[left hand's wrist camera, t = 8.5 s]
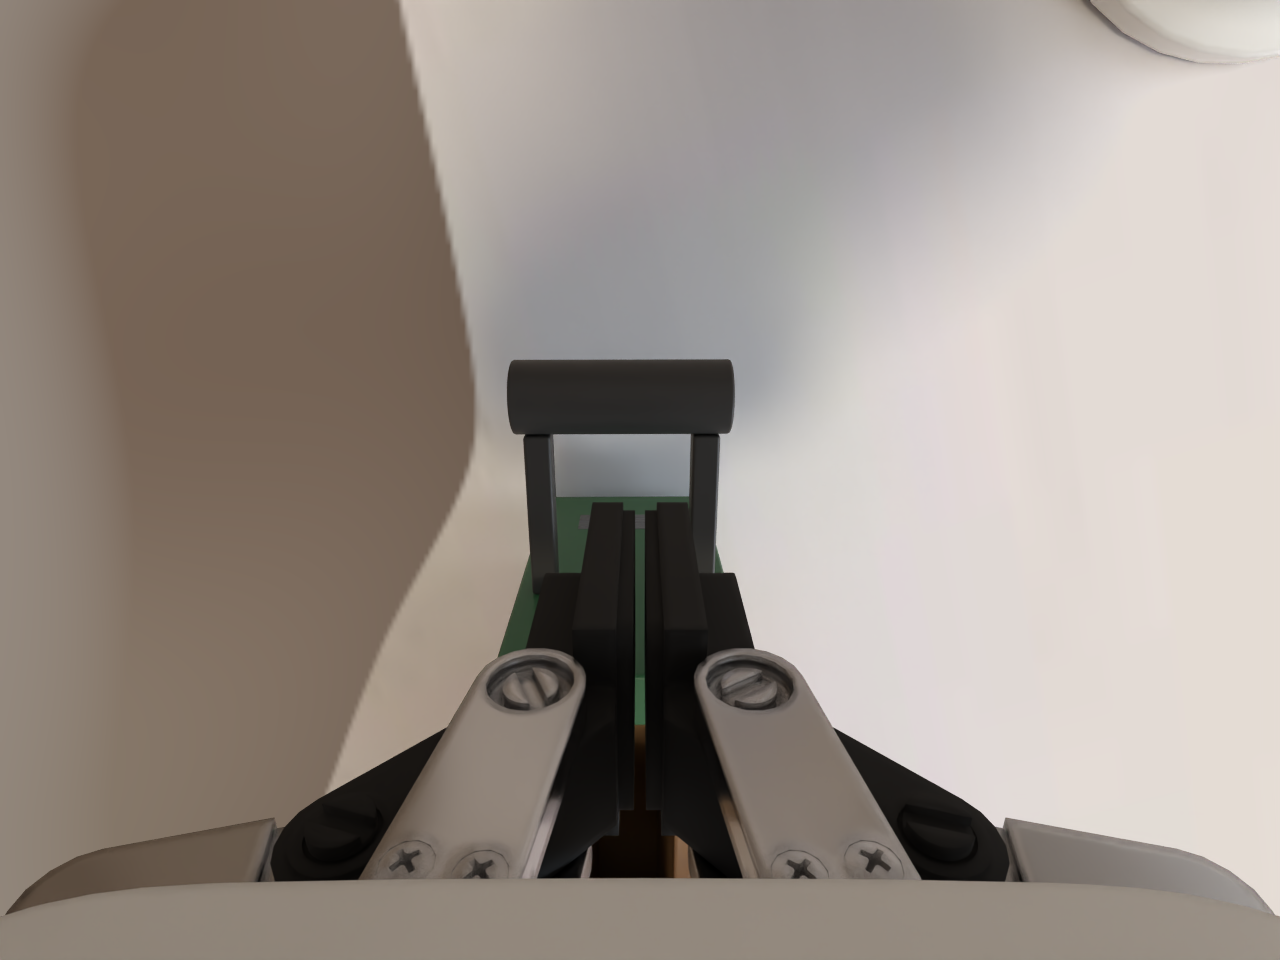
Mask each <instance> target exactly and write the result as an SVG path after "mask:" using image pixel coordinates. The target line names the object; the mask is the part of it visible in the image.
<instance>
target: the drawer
mask: <svg viewBox="0 0 1280 960" xmlns="http://www.w3.org/2000/svg"><path fill="white" fill-rule="evenodd" d="M734 403H735V385H734V372H733V366H732V363H731V361H730V360H728V359H723V360H513V361H512V362H511V364H510V367H509V371H508V379H507V406H508V416H509V422H510V426H511V429H512V431H513V433H514V434H525V436H524V439H523V442H524V459H525V475H526V492H527V509H528V525H529V542H530V556H529V559H528V562H527V565H526V568H525V572H524V575H523V578H522V581H521V584H520V588H519V591H518V594H517V597H516V600H515V604H514V607H513V610H512V613H511V616H510V620H509V623H508V626H507V629H506V632H505V636H504V639H503V642H502V645H501V648H500V652H499V655H498V657H501V656H503V655H506V654H508V653H511V652H513V651H518V650H524V649H526V645H527V641H528V637H529V633H530V629H531V626H532V622H533V618H534V614H535V610H536V606H537V602H538V599H539V595H540V591H541V587H542V583H543V579H544V576H545V574H546V573H581V570H582V564H583V558H584V552H585V545H586V539H587V533H588V527H589V521H590V515H591V508H592V503H593V502H623V510H635V638H636V649H635V755H634V810H619V836H603V837H601V838H600V839H599V840H598V841H596V842H595V843H594V844H593V845H592V868H591V873H590V877H589V878H691V877H690V873H689V868H688V845H687V844H686V843H685V842H684V841H682V840H681V839H680V838H679V837H677V836H661V810H646V755H645V649H644V638H645V510H657V502H687V503H688V508H689V515H690V521H691V527H692V533H693V539H694V545H695V552H696V558H697V564H698V570H699V573H724V572H723V569H722V565H721V561H720V558H719V554H718V550H717V547H716V526H717V502H718V477H719V453H720V437H719V434H727V433H729V432H730V430H731V428H732V423H733V417H734ZM553 434H691V451H690V490H689V497H556V488H555V466H554V444H553Z"/></svg>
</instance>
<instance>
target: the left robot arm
mask: <svg viewBox="0 0 1280 960" xmlns="http://www.w3.org/2000/svg"><path fill="white" fill-rule="evenodd" d="M1090 2H1091V3H1092V4H1093V5H1094V6H1095V7H1096V8H1097V9H1098V10H1099V11H1100V12H1101V13H1102V14H1103V15H1105V16H1106V17H1107V18H1108V19H1109V20H1110V21H1111V22H1112V23H1113V24H1114V25H1115V26H1116V27H1117V28H1118V29H1119V30H1121V31H1122V32H1123V33H1124V34H1126V35H1128V36H1130V37H1132V38H1133V39H1135V40H1137V41H1139V42H1141V43H1142V44H1144V45H1146V46H1148V47H1150V48H1152V49H1153V50H1155V51H1157V52H1159V53H1162V54H1166V55H1170V56H1174V57H1178V58H1182V59H1186V60H1189V61H1193V62H1197V63H1227V64H1244V63H1249V62H1254V61H1259V60H1264V59H1269V58H1274V57H1279V56H1280V0H1090ZM635 649H636V638H635V510H623V502H593V503H592V508H591V515H590V521H589V527H588V533H587V539H586V545H585V552H584V558H583V564H582V570H581V573H546V574H545V576H544V579H543V583H542V587H541V591H540V595H539V599H538V602H537V606H536V610H535V614H534V618H533V622H532V626H531V629H530V633H529V637H528V641H527V645H526V649H524V650H518V651H513V652H511V653H508V654H506V655H503V656H501V657H498V658H497V659H495V660H494V661H492V662H491V663H489V664H488V665H486V666H485V667H484V669H483V670H482V671H481V672H480V673H479V675H478V676H477V677H476V679H475V681H474V683H473V684H472V686H471V688H470V689H469V691H468V693H467V695H466V696H465V698H464V700H463V701H462V703H461V705H460V707H459V708H458V710H457V712H456V713H455V715H454V717H453V718H452V720H451V722H450V724H449V725H448V727H447V728H445V729H443V730H441V731H440V732H438V733H436V734H434V735H432V736H431V737H429V738H427V739H425V740H423V741H422V742H420V743H418V744H416V745H414V746H413V747H411V748H409V749H407V750H405V751H404V752H402V753H400V754H398V755H396V756H395V757H393V758H391V759H389V760H388V761H386V762H384V763H382V764H380V765H379V766H377V767H375V768H373V769H371V770H370V771H368V772H366V773H364V774H362V775H361V776H359V777H357V778H355V779H353V780H352V781H350V782H348V783H346V784H344V785H343V786H341V787H339V788H337V789H335V790H334V791H332V792H330V793H328V794H327V795H325V796H323V797H321V798H319V799H318V800H316V801H315V802H313V803H312V804H310V805H309V806H307V807H306V808H305V809H303V810H302V811H300V812H299V813H298V814H297V815H296V816H295V817H294V818H293V819H292V820H291V821H290V822H289V823H288V824H287V825H286V826H285V827H282V828H277V826H276V822H275V818H270V819H264V820H259V821H253V822H248V823H242V824H237V825H231V826H226V827H221V828H215V829H209V830H204V831H199V832H193V833H187V834H182V835H177V836H171V837H165V838H160V839H154V840H149V841H144V842H138V843H133V844H127V845H122V846H116V847H111V848H105V849H101V850H98V851H94V852H91V853H88V854H85V855H81V856H78V857H76V858H74V859H72V860H70V861H68V862H66V863H64V864H62V865H60V866H59V867H57V868H55V869H53V870H51V871H49V872H48V873H47V874H46V875H44V876H43V877H42V878H40V879H39V880H38V881H36V882H35V883H34V884H33V885H31V886H30V887H29V888H28V889H26V890H25V891H24V892H23V894H22V895H21V896H20V897H19V898H18V899H17V901H16V902H15V903H14V904H13V905H12V907H11V908H10V909H9V910H8V911H7V913H6V914H5V915H4V916H1V917H0V960H1280V917H1279V916H1276V915H1275V914H1274V913H1273V911H1272V910H1271V909H1270V908H1269V907H1268V905H1267V904H1266V903H1265V902H1264V901H1263V899H1262V898H1261V897H1260V896H1259V895H1258V894H1257V892H1256V891H1255V890H1254V889H1253V888H1251V887H1250V886H1249V885H1247V884H1246V883H1245V882H1244V881H1242V880H1241V879H1240V878H1238V877H1237V876H1236V875H1234V874H1233V873H1232V872H1231V871H1229V870H1227V869H1225V868H1223V867H1221V866H1220V865H1218V864H1216V863H1214V862H1212V861H1210V860H1208V859H1206V858H1204V857H1202V856H1199V855H1195V854H1192V853H1189V852H1186V851H1182V850H1179V849H1175V848H1169V847H1164V846H1158V845H1153V844H1147V843H1142V842H1136V841H1131V840H1126V839H1120V838H1115V837H1109V836H1104V835H1098V834H1093V833H1087V832H1082V831H1076V830H1071V829H1065V828H1060V827H1054V826H1049V825H1043V824H1038V823H1032V822H1027V821H1021V820H1016V819H1010V818H1005V822H1004V826H1003V828H998V827H995V826H994V825H993V824H992V823H991V822H990V821H989V820H988V819H987V818H986V817H985V816H984V815H983V814H982V813H981V812H980V811H978V810H977V809H975V808H974V807H973V806H971V805H970V804H968V803H967V802H965V801H964V800H962V799H961V798H959V797H957V796H955V795H953V794H952V793H950V792H948V791H946V790H945V789H943V788H941V787H939V786H937V785H936V784H934V783H932V782H930V781H928V780H927V779H925V778H923V777H921V776H919V775H918V774H916V773H914V772H912V771H910V770H909V769H907V768H905V767H903V766H901V765H900V764H898V763H896V762H894V761H892V760H891V759H889V758H887V757H885V756H884V755H882V754H880V753H878V752H876V751H875V750H873V749H871V748H869V747H867V746H866V745H864V744H862V743H860V742H858V741H857V740H855V739H853V738H851V737H849V736H848V735H846V734H844V733H842V732H840V731H839V730H837V729H835V728H833V727H832V725H831V724H830V722H829V720H828V718H827V717H826V715H825V713H824V712H823V710H822V708H821V707H820V705H819V703H818V701H817V700H816V698H815V696H814V695H813V693H812V691H811V689H810V688H809V686H808V684H807V683H806V681H805V679H804V677H803V676H802V675H801V673H800V672H799V671H798V670H797V669H796V667H795V666H794V665H792V664H791V663H789V662H788V661H786V660H785V659H783V658H782V657H779V656H777V655H774V654H772V653H769V652H767V651H762V650H756V649H754V645H753V641H752V637H751V633H750V629H749V626H748V622H747V618H746V614H745V610H744V606H743V602H742V599H741V595H740V591H739V587H738V583H737V579H736V576H735V574H734V573H699V570H698V564H697V558H696V552H695V545H694V539H693V533H692V527H691V521H690V515H689V508H688V503H687V502H657V510H645V638H644V649H645V755H646V810H661V836H677V837H679V838H680V839H681V840H682V841H684V842H685V843H686V844H687V845H688V868H689V873H690V877H691V878H589V877H590V873H591V868H592V845H593V844H594V843H595V842H596V841H598V840H599V839H600V838H601V837H603V836H619V810H634V755H635Z"/></svg>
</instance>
